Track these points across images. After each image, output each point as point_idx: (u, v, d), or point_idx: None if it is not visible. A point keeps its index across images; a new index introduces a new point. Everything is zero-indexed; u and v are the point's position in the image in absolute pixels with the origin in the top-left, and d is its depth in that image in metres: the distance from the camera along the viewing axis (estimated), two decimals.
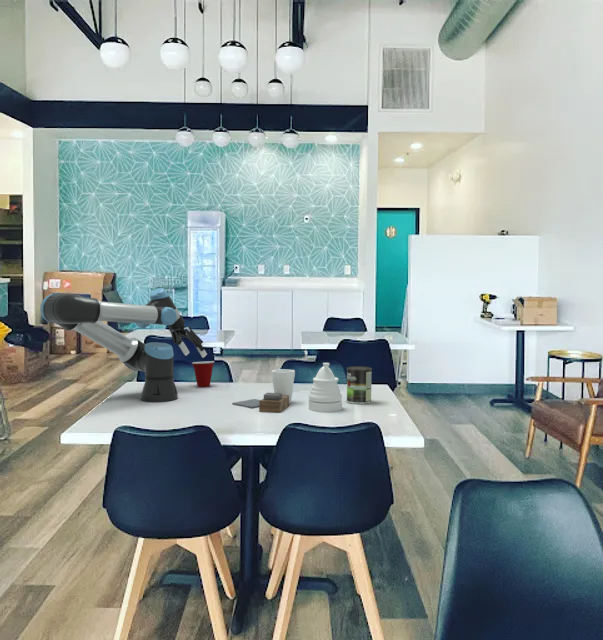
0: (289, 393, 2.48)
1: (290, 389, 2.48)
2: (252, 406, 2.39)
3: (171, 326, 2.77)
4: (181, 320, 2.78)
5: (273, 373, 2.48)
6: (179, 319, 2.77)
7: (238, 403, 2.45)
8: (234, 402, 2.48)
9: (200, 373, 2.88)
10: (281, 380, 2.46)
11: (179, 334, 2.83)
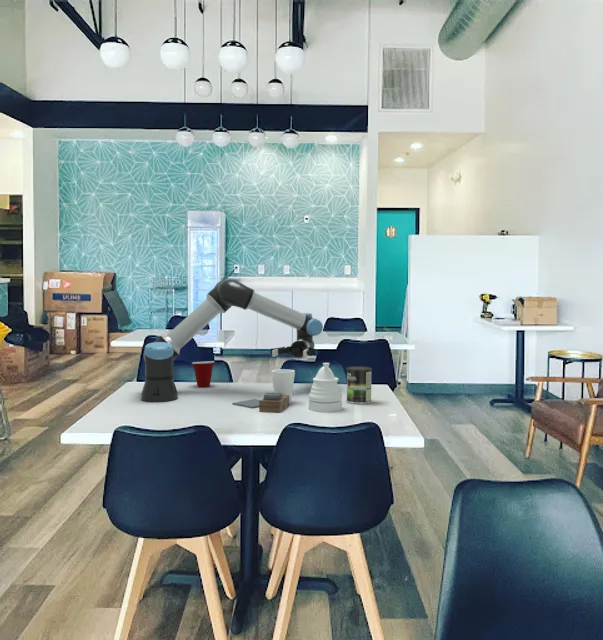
0: (289, 393, 2.48)
1: (290, 389, 2.48)
2: (252, 406, 2.39)
3: (301, 341, 2.78)
4: None
5: (273, 373, 2.48)
6: None
7: (238, 403, 2.45)
8: (234, 402, 2.48)
9: (200, 373, 2.88)
10: (281, 380, 2.46)
11: (293, 347, 2.73)
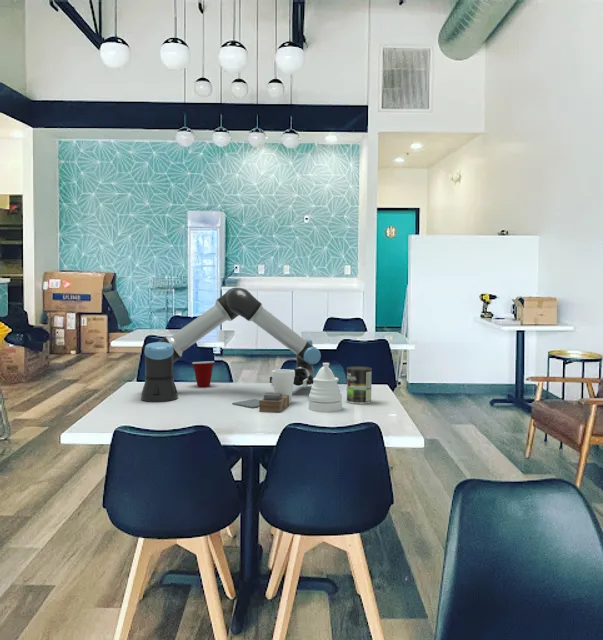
0: (289, 393, 2.48)
1: (290, 389, 2.48)
2: (252, 406, 2.39)
3: (301, 368, 2.74)
4: None
5: (273, 373, 2.48)
6: None
7: (238, 403, 2.45)
8: (234, 402, 2.48)
9: (200, 373, 2.88)
10: (281, 380, 2.46)
11: None
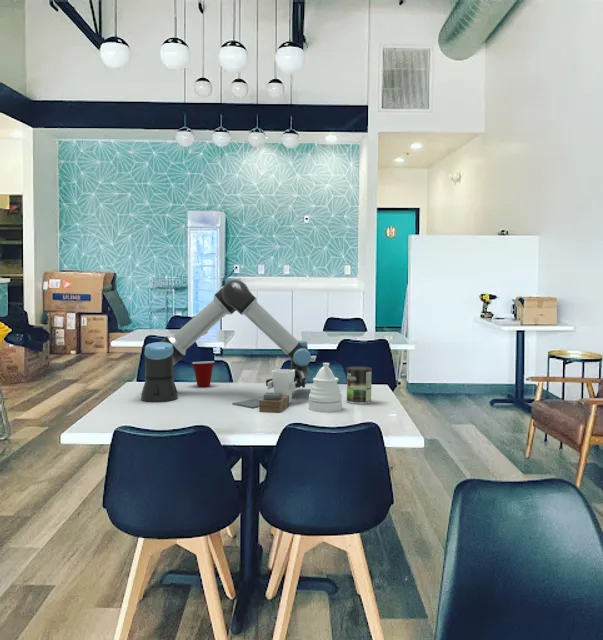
0: (289, 393, 2.48)
1: (290, 389, 2.48)
2: (252, 406, 2.39)
3: (295, 371, 2.66)
4: None
5: (273, 373, 2.48)
6: None
7: (238, 403, 2.45)
8: (234, 402, 2.48)
9: (200, 373, 2.88)
10: (281, 380, 2.46)
11: None
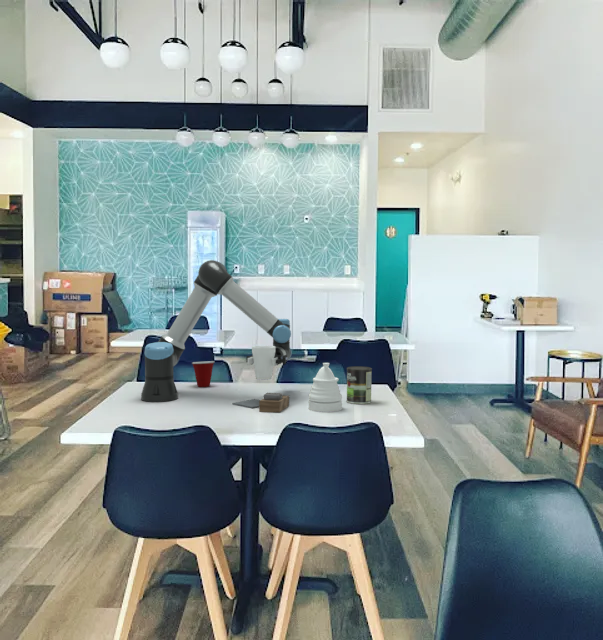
0: (269, 369, 2.45)
1: (270, 365, 2.45)
2: (252, 406, 2.39)
3: (277, 348, 2.63)
4: None
5: (253, 349, 2.44)
6: None
7: (238, 403, 2.45)
8: (234, 402, 2.48)
9: (200, 373, 2.88)
10: (261, 356, 2.43)
11: None
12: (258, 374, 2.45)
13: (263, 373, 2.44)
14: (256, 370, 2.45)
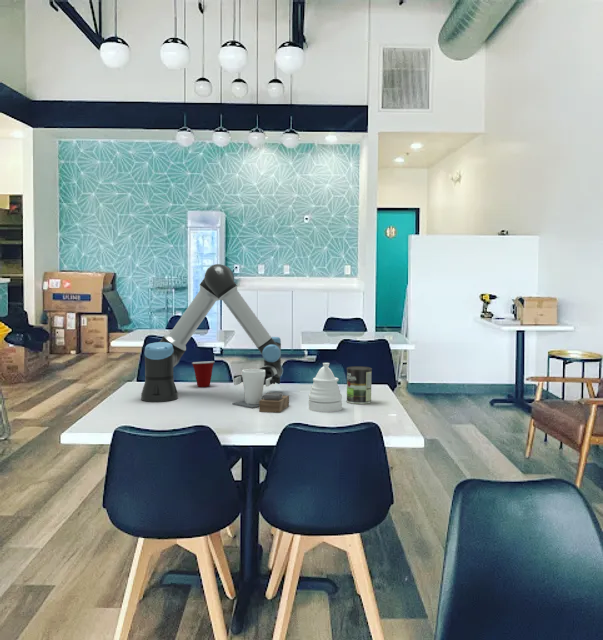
0: (259, 393, 2.44)
1: (260, 389, 2.44)
2: (252, 406, 2.39)
3: (267, 367, 2.62)
4: None
5: (243, 373, 2.44)
6: None
7: (238, 403, 2.45)
8: (234, 402, 2.48)
9: (200, 373, 2.88)
10: (251, 380, 2.42)
11: None
12: (248, 398, 2.44)
13: (253, 397, 2.43)
14: (246, 394, 2.44)
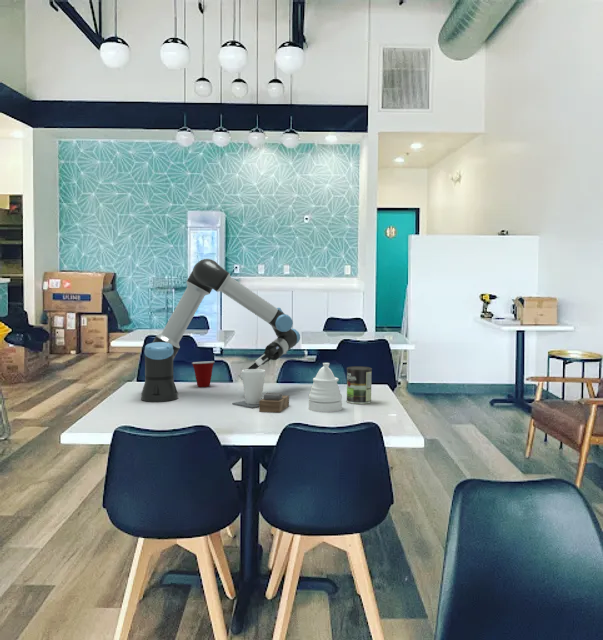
0: (259, 393, 2.44)
1: (260, 389, 2.44)
2: (252, 406, 2.39)
3: (271, 343, 2.74)
4: (280, 349, 2.72)
5: (243, 373, 2.44)
6: (280, 347, 2.73)
7: (238, 403, 2.45)
8: (234, 402, 2.48)
9: (200, 373, 2.88)
10: (251, 380, 2.42)
11: None
12: (248, 398, 2.44)
13: (253, 397, 2.44)
14: (246, 394, 2.44)
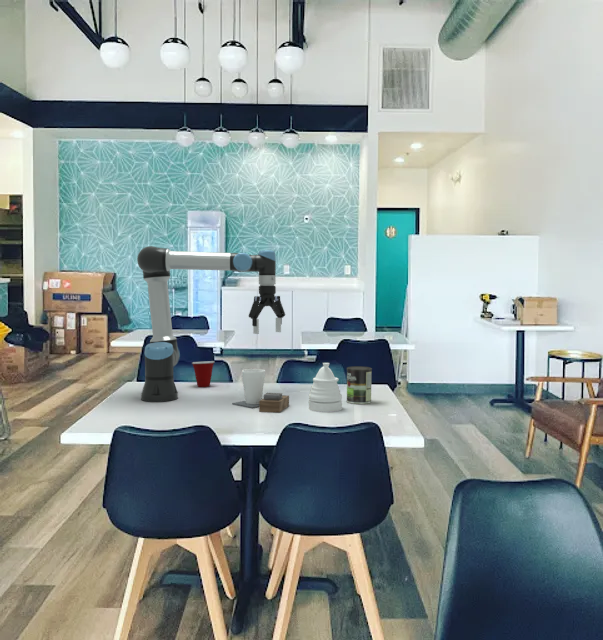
0: (259, 393, 2.44)
1: (260, 389, 2.44)
2: (252, 406, 2.39)
3: None
4: (263, 288, 2.69)
5: (243, 373, 2.44)
6: (262, 286, 2.69)
7: (238, 403, 2.45)
8: (234, 402, 2.48)
9: (200, 373, 2.88)
10: (251, 380, 2.42)
11: None
12: (248, 398, 2.44)
13: (253, 397, 2.44)
14: (246, 394, 2.44)
